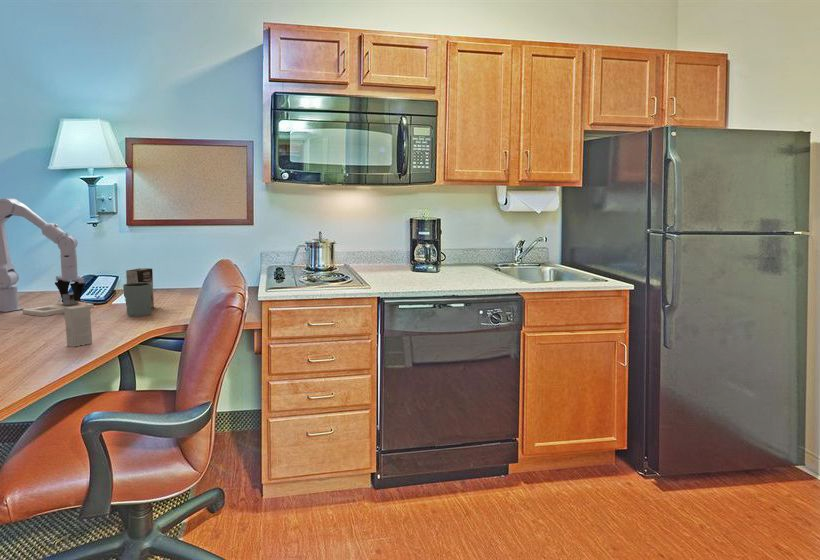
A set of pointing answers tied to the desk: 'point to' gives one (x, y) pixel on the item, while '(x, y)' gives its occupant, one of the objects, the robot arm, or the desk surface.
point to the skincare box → (78, 325)
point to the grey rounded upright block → (138, 298)
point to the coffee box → (141, 278)
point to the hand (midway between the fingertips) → (71, 299)
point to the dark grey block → (69, 300)
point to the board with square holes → (51, 309)
